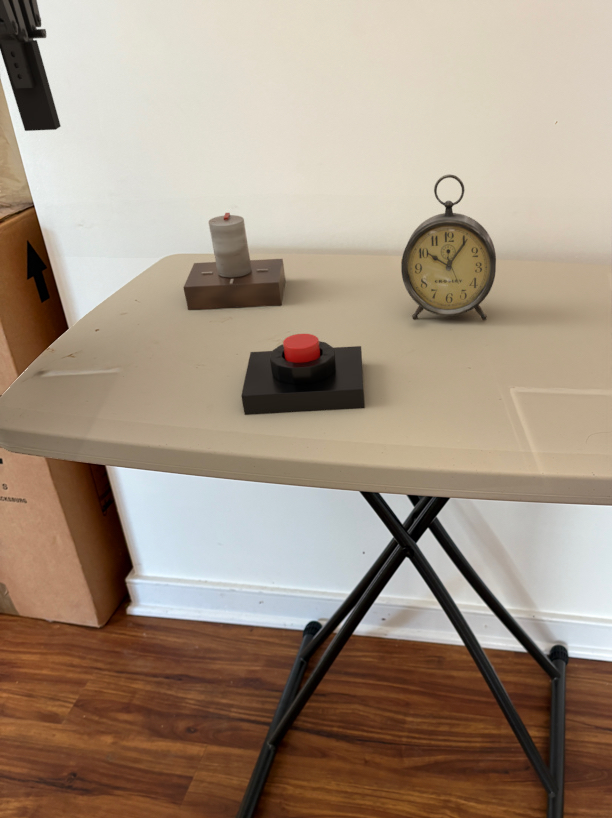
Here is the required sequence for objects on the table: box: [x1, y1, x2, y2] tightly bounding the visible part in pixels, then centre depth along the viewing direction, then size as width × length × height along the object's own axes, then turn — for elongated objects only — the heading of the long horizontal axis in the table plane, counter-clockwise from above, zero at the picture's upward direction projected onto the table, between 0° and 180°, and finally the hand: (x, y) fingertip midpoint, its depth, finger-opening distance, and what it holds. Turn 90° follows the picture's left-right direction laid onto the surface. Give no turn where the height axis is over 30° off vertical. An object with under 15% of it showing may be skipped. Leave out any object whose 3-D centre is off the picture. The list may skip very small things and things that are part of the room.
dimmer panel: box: [183, 258, 286, 311], centre depth 100 cm, size 12×9×3 cm
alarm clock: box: [400, 174, 497, 321], centre depth 88 cm, size 11×5×16 cm, turn 83°
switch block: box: [240, 340, 366, 416], centre depth 78 cm, size 12×10×4 cm
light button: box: [282, 333, 320, 363], centre depth 77 cm, size 4×4×2 cm
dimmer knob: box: [208, 212, 252, 278], centre depth 97 cm, size 4×4×7 cm
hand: (42, 128), depth 67 cm, fingers closed
